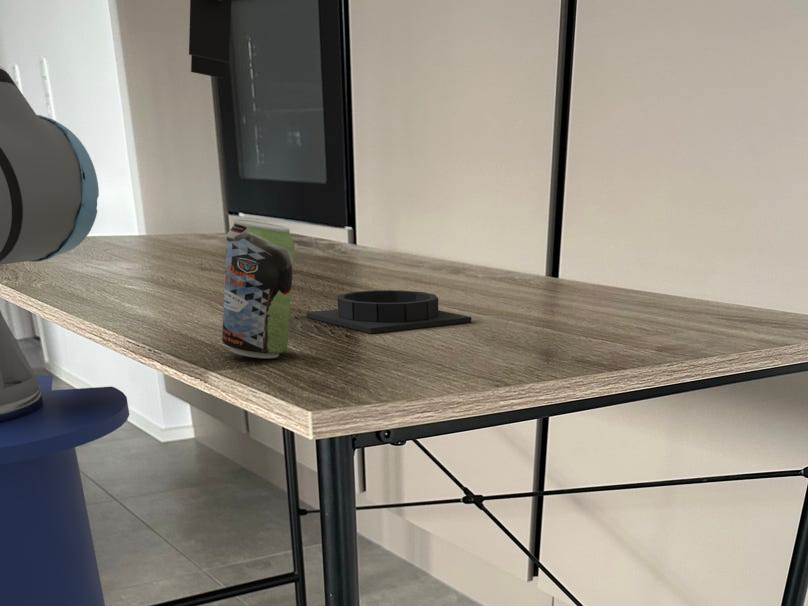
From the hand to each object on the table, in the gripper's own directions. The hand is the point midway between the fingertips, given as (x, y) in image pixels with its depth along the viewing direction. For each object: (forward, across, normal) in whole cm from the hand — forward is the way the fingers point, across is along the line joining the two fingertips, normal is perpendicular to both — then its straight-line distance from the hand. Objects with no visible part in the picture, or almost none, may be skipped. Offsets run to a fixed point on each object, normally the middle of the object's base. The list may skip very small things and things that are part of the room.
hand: (208, 68), depth 72 cm
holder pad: (+20, +28, -21) cm, 40 cm away
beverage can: (+23, +8, -6) cm, 25 cm away
